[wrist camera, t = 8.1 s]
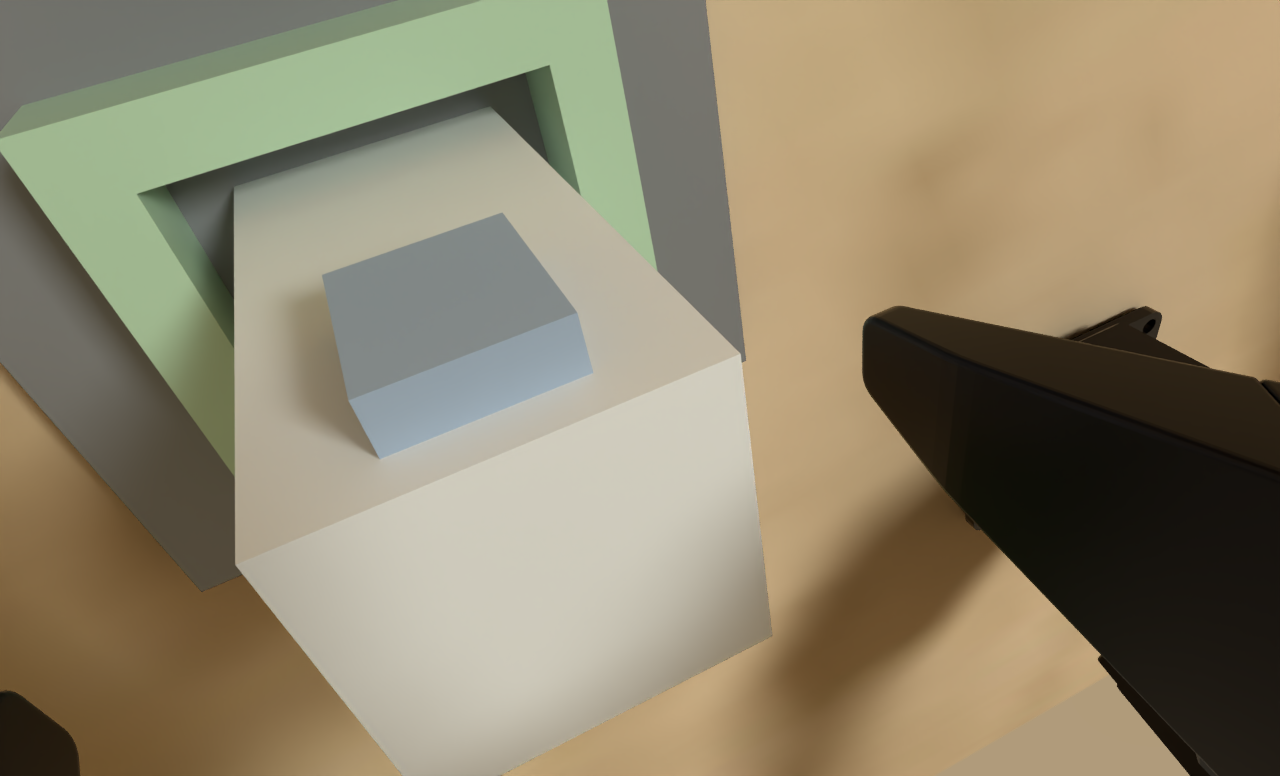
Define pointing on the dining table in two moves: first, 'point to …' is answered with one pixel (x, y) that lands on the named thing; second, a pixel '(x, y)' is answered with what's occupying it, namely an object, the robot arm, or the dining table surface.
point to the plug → (482, 449)
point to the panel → (278, 141)
